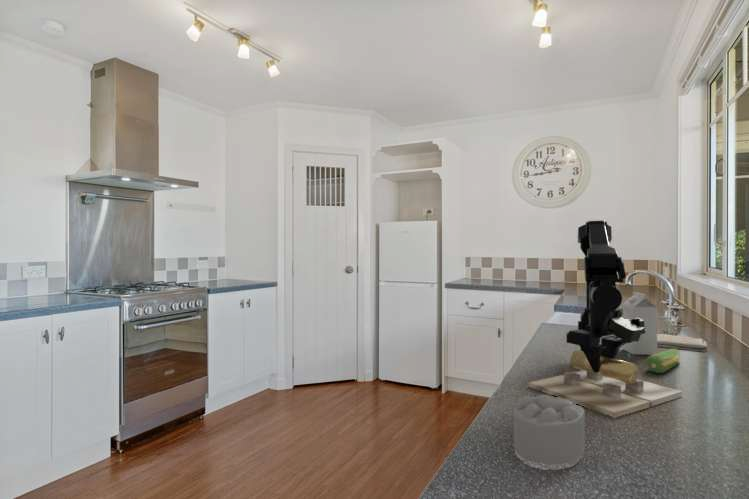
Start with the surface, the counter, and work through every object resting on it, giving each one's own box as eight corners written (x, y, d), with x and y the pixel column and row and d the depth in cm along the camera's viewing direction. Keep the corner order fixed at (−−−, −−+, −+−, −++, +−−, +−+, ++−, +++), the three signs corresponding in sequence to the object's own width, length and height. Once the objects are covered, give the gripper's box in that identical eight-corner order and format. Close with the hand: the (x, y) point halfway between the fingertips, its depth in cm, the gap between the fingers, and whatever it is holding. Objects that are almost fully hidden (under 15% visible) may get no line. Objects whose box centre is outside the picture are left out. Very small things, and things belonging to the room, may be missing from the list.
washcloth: (708, 353, 139) (708, 344, 138) (642, 346, 149) (642, 337, 149) (706, 346, 148) (706, 337, 148) (644, 340, 159) (644, 331, 158)
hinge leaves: (528, 387, 107) (528, 372, 107) (593, 371, 119) (593, 358, 119) (614, 418, 88) (614, 400, 88) (682, 396, 100) (682, 380, 99)
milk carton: (645, 349, 142) (645, 291, 142) (657, 355, 135) (657, 294, 135) (622, 349, 143) (622, 291, 143) (633, 355, 136) (633, 294, 136)
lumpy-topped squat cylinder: (590, 448, 75) (590, 398, 75) (565, 479, 65) (565, 422, 65) (531, 431, 82) (531, 386, 82) (500, 457, 72) (500, 405, 72)
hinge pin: (570, 369, 108) (570, 351, 108) (582, 366, 110) (582, 348, 110) (626, 385, 96) (626, 365, 96) (638, 381, 98) (638, 361, 98)
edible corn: (640, 356, 119) (658, 355, 115) (667, 347, 131) (684, 345, 128) (646, 376, 117) (664, 375, 114) (672, 364, 130) (690, 363, 126)
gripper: (610, 313, 91) (610, 387, 92) (660, 306, 100) (660, 373, 101) (564, 306, 101) (564, 373, 102) (614, 300, 110) (614, 362, 110)
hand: (602, 370), depth 103 cm, fingers closed on hinge pin, 4 cm apart
